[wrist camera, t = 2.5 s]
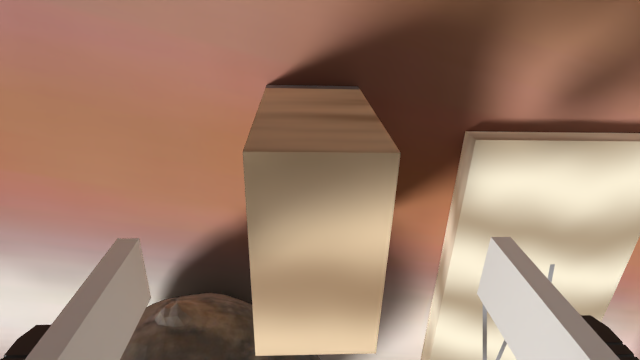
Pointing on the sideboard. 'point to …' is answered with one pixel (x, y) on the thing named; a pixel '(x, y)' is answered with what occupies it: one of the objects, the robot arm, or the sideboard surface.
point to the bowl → (198, 331)
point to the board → (534, 227)
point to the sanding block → (318, 219)
